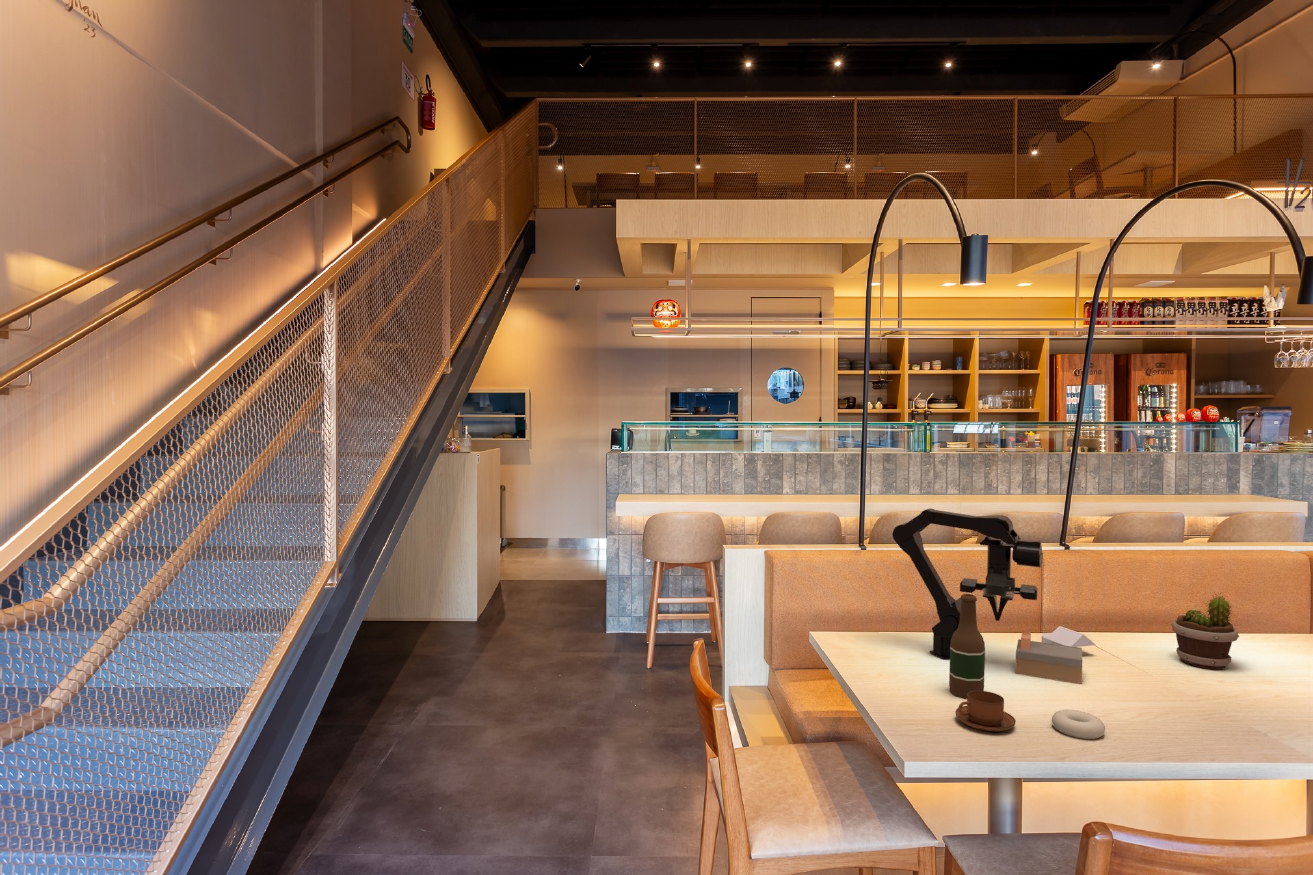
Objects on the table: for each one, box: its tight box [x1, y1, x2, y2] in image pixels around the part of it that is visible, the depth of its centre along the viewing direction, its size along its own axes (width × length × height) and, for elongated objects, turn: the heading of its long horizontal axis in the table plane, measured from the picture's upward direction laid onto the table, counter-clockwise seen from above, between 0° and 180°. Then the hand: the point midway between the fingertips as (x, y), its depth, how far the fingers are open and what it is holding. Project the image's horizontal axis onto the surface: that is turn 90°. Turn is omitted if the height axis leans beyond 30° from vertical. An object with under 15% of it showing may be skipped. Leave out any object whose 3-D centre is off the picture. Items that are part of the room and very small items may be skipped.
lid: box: [1015, 630, 1083, 668], centre depth 196 cm, size 15×12×5 cm
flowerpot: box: [1170, 592, 1240, 670], centre depth 204 cm, size 14×15×20 cm
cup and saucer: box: [955, 690, 1016, 732], centre depth 163 cm, size 12×12×6 cm
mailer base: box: [1015, 657, 1083, 685], centre depth 196 cm, size 15×10×5 cm, turn 61°
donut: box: [1051, 709, 1106, 740], centre depth 160 cm, size 10×4×10 cm
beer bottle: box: [948, 593, 986, 700], centre depth 180 cm, size 8×8×24 cm
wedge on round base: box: [1041, 625, 1097, 648], centre depth 215 cm, size 9×7×13 cm
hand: (997, 620), depth 202 cm, fingers closed
